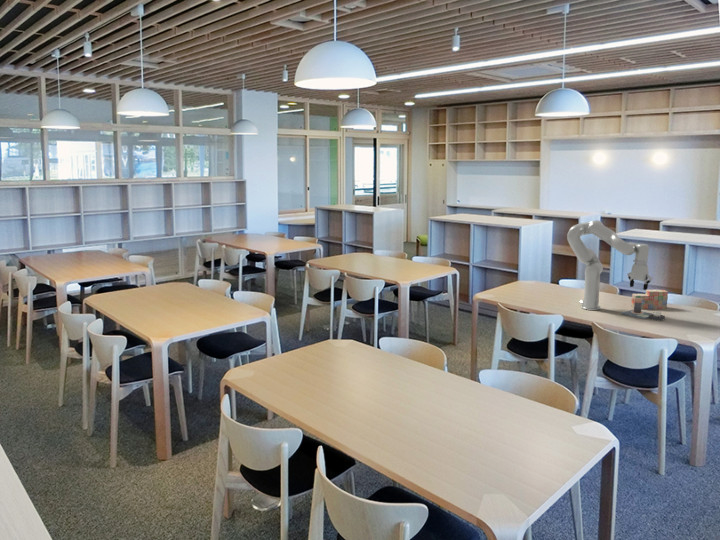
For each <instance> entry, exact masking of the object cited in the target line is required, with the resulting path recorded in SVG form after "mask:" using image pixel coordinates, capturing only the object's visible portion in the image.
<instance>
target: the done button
mask: <svg viewBox="0 0 720 540" xmlns="http://www.w3.org/2000/svg"><path fill="white" fill-rule="evenodd" d="M652 314H653V316H657V317H660V316H661V315H662V312H660V311H654V312H653V313H652Z"/></svg>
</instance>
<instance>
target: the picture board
mask: <svg viewBox="0 0 720 540" xmlns="http://www.w3.org/2000/svg"><path fill="white" fill-rule="evenodd" d="M620 314H621V315H626V316H627V317H628V316H629V317H633V318H638V319H642V320H647V319H649V315H652V314H653V313H651V312H646V311H643V310H641V313H635V312H634V309H631V310H627V311H625V310H624V311H621V312H620Z"/></svg>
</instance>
